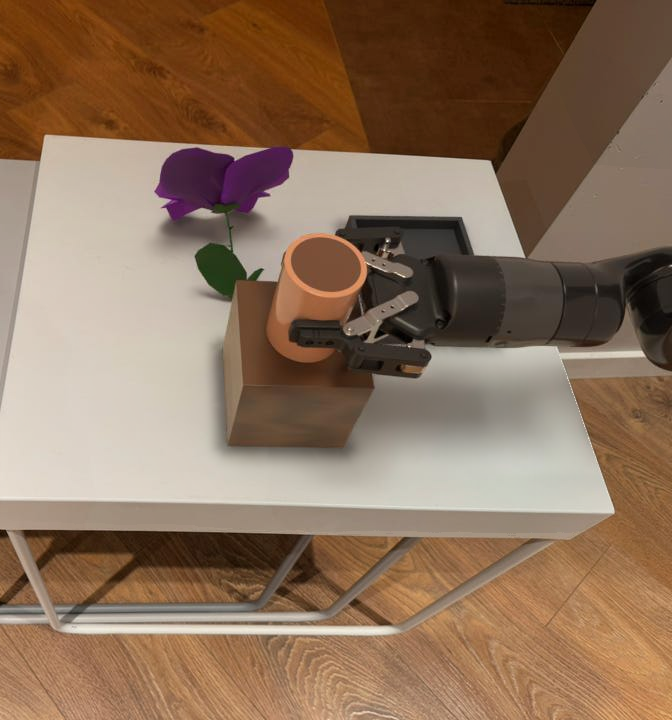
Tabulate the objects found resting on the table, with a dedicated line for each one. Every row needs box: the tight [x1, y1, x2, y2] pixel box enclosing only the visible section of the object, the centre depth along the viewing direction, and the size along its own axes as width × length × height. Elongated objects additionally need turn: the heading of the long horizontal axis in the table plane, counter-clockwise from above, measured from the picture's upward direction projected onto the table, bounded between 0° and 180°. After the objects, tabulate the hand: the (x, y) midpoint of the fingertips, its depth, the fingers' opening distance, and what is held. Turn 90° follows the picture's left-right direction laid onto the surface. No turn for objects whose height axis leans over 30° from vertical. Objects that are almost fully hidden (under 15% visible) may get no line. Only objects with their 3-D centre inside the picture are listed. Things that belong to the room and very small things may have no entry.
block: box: [222, 280, 376, 449], centre depth 71 cm, size 11×11×11 cm
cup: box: [266, 232, 367, 363], centre depth 62 cm, size 6×6×9 cm
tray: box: [344, 214, 475, 345], centre depth 84 cm, size 16×13×2 cm
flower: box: [153, 145, 294, 297], centre depth 80 cm, size 15×15×14 cm
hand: (286, 295), depth 62 cm, fingers closed on cup, 6 cm apart
